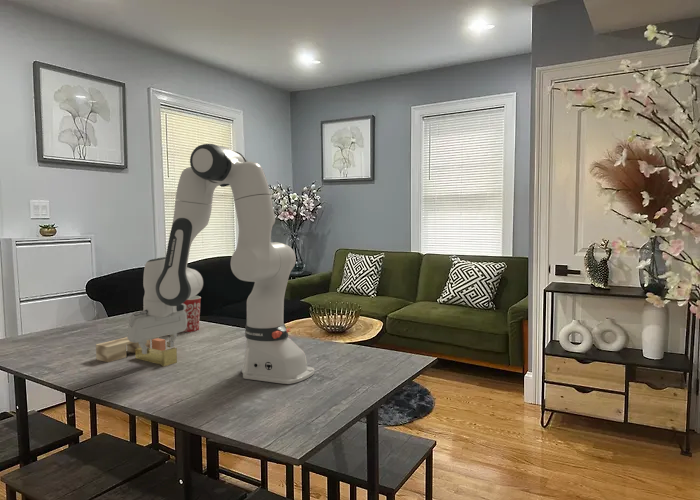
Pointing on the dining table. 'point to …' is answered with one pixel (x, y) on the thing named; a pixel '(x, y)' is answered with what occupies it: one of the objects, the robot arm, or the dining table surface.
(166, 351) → the pin
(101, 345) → the block
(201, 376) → the dining table surface
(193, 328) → the mug
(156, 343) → the orange block
